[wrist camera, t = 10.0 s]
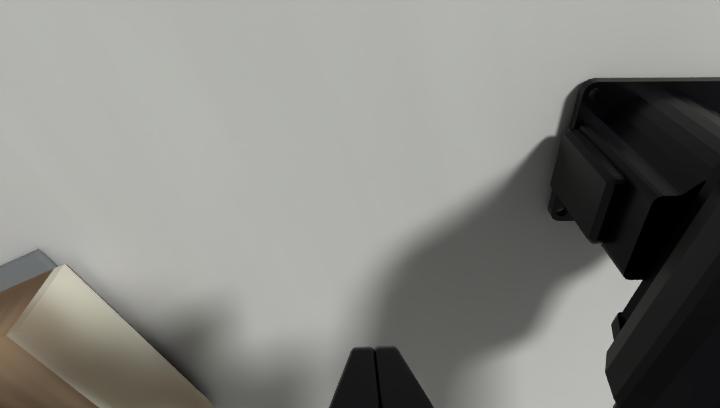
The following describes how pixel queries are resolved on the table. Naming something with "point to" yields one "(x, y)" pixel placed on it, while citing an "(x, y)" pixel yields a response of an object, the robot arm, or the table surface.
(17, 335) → the walnut block
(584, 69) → the table surface
